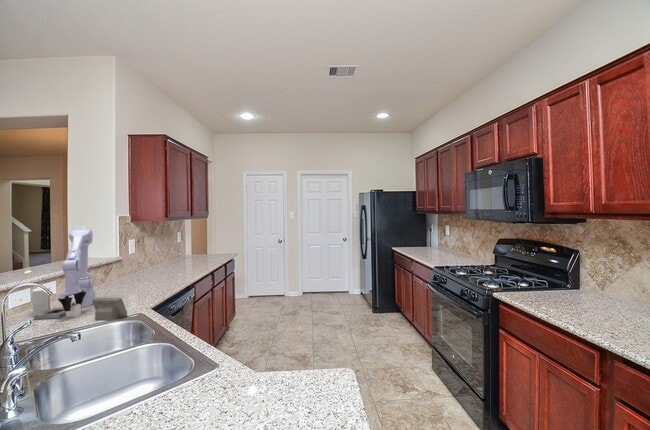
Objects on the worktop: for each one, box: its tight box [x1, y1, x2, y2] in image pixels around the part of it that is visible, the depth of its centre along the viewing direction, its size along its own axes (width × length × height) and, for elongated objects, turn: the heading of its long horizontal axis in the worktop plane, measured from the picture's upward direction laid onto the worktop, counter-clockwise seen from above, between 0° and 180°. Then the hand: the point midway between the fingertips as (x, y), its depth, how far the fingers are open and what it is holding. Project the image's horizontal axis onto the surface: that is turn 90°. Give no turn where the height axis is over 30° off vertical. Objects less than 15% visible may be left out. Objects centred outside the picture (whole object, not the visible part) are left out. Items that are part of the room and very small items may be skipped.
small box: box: [31, 286, 51, 317], centre depth 159 cm, size 8×6×13 cm
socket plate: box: [33, 307, 66, 321], centre depth 155 cm, size 12×12×3 cm
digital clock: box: [92, 296, 128, 321], centre depth 149 cm, size 16×9×11 cm, turn 71°
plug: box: [65, 302, 82, 318], centre depth 154 cm, size 4×4×6 cm
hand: (73, 308), depth 154 cm, fingers open, 7 cm apart
